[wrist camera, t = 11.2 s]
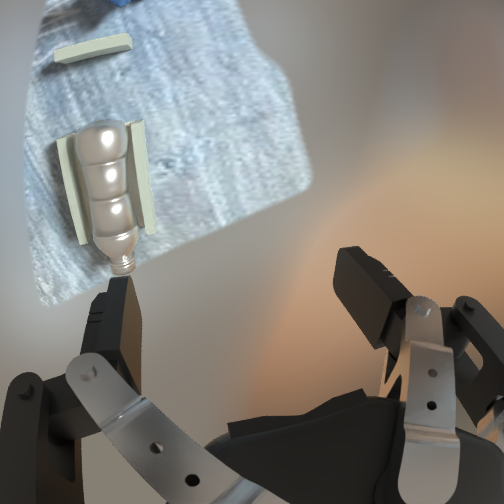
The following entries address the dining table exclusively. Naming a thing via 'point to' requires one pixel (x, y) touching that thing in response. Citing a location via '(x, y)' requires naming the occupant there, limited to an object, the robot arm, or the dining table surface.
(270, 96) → the dining table surface
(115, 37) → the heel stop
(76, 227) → the cradle
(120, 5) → the grapes
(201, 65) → the dining table surface
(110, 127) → the silver metal bottle
